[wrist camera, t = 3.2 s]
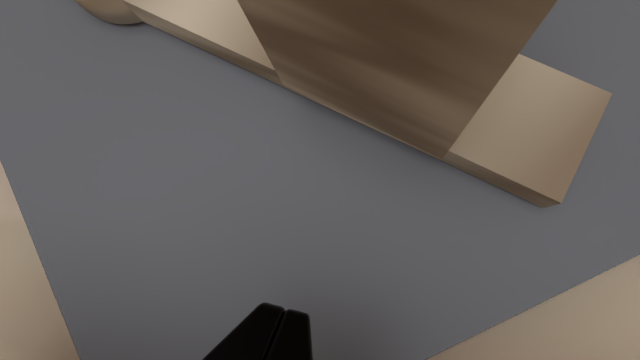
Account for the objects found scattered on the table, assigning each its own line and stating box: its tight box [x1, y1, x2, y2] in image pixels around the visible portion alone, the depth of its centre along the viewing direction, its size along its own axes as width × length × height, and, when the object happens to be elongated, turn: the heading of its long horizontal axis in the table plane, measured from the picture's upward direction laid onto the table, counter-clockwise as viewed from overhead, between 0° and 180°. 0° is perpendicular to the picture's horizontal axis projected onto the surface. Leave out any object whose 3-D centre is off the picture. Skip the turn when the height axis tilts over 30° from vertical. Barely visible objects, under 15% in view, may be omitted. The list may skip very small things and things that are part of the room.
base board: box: [0, 0, 640, 360], centre depth 17 cm, size 22×19×1 cm
